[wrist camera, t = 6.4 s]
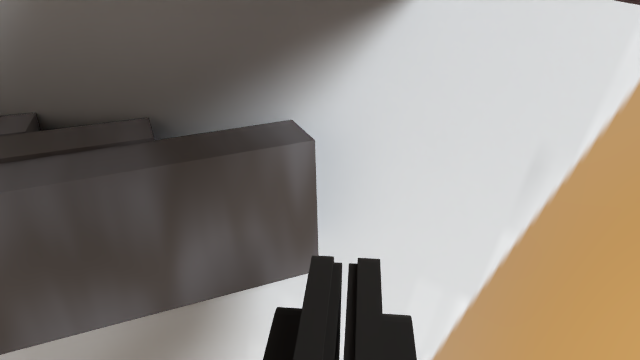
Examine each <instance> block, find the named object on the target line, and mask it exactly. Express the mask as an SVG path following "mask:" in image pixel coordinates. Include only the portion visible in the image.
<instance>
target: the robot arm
mask: <svg viewBox="0 0 640 360" xmlns="http://www.w3.org/2000/svg"><path fill="white" fill-rule="evenodd" d="M341 284H342V263H334V257H331V256H313V255H312V257H311V263H310V268H309V274H308V279H307V285H306V290H305V296H304V302H303V307H302V309H299V308H283V307H277V309H276V311H275V314H274V318H273V322H272V326H271V330H270V334H269V338H268V342H267V346H266V350H265V354H264V358H263V360H339V350H340V318H341ZM344 360H417V358H416V350H415V342H414V334H413V326H412V319H411V316H409V315H393V314H382V294H381V271H380V259H368V258H358V264H351V263H349V273H348V291H347V309H346V327H345V344H344Z"/></svg>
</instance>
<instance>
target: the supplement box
mask: <svg viewBox="0 0 640 360" xmlns="http://www.w3.org/2000/svg"><path fill="white" fill-rule="evenodd" d="M616 1H621V2H626V3H632V4H638V5H640V0H616Z"/></svg>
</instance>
